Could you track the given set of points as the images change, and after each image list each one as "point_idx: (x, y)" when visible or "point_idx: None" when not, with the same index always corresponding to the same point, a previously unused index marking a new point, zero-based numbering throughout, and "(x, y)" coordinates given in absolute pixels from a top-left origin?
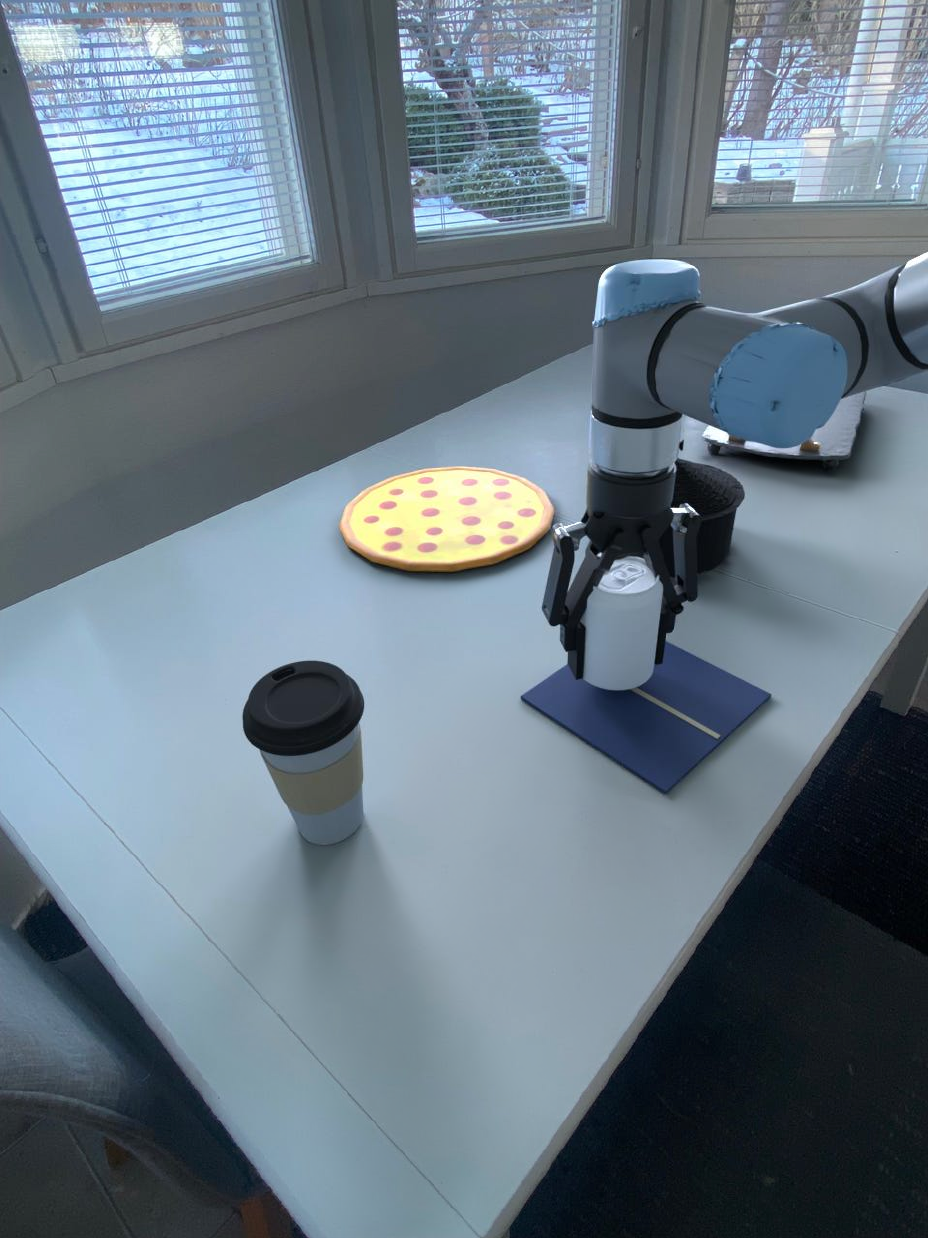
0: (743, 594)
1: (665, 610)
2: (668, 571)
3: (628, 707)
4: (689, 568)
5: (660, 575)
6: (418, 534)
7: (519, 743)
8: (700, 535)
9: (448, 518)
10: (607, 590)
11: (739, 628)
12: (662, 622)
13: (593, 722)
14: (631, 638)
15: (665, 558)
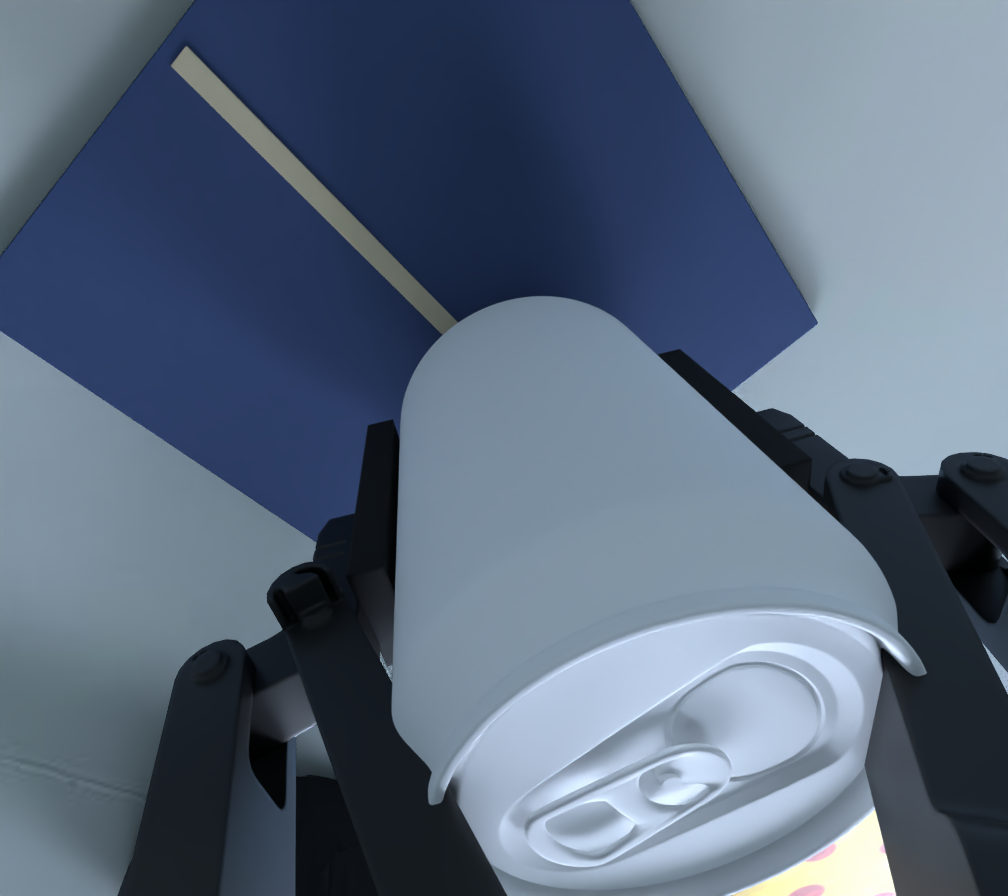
0: (87, 735)
1: (363, 591)
2: (300, 793)
3: (502, 255)
4: (186, 880)
5: (419, 800)
6: (854, 841)
7: (885, 104)
8: None
9: (777, 885)
10: (829, 645)
11: (99, 614)
12: (378, 535)
13: (636, 181)
14: (576, 390)
15: (306, 836)
